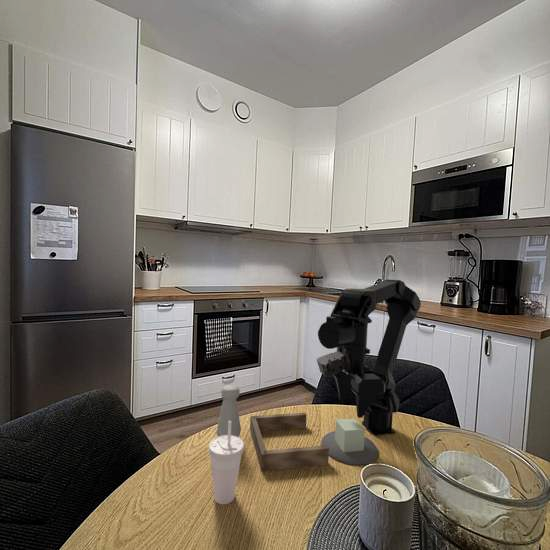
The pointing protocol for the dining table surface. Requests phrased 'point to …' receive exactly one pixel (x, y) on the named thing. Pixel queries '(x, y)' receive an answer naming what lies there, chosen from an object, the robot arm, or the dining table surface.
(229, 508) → the dining table surface
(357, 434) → the block
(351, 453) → the coaster
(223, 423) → the salt shaker
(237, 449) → the smoothie
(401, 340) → the robot arm
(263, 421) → the bay
